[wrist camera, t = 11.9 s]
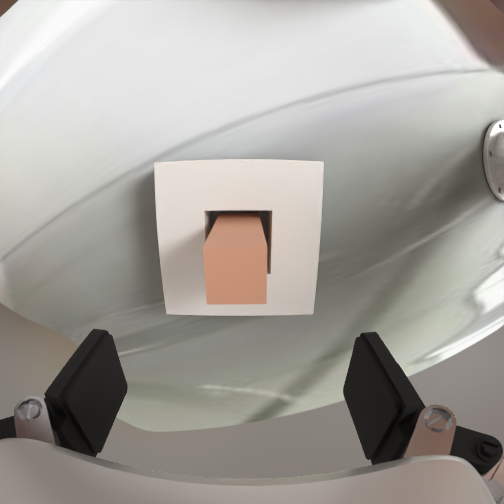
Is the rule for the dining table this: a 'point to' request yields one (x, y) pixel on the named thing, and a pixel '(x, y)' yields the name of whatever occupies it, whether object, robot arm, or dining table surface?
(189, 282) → the socket block
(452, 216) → the dining table surface
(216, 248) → the peg
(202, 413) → the dining table surface
